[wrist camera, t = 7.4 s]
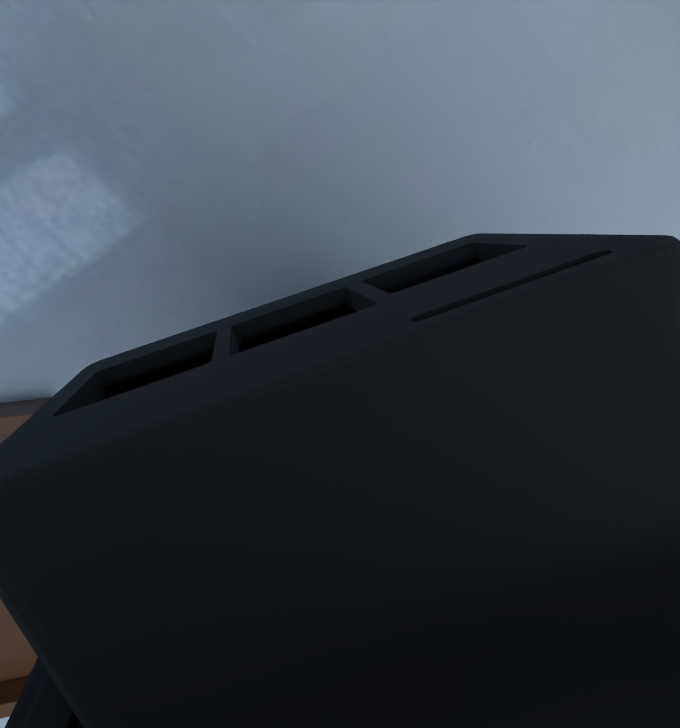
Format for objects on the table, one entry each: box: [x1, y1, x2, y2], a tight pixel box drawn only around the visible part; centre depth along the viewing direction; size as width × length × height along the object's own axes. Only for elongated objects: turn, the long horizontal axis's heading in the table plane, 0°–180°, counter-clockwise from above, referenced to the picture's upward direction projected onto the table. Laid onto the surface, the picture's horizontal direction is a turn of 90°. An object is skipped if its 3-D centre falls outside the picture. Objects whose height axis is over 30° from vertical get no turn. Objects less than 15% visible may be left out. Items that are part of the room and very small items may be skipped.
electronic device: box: [0, 233, 680, 728], centre depth 8 cm, size 7×11×5 cm
